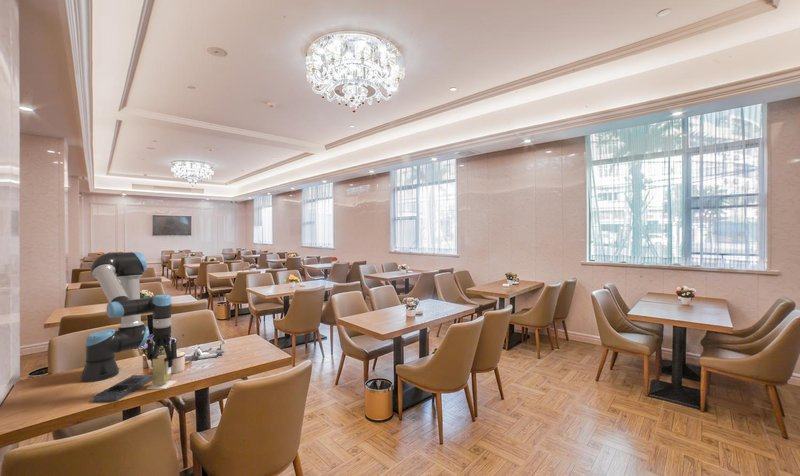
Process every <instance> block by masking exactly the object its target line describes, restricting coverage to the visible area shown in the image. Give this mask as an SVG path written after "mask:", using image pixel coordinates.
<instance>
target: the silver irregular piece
mask: <svg viewBox="0 0 800 476" xmlns="http://www.w3.org/2000/svg"><path fill="white" fill-rule="evenodd" d="M226 343H227V341H226V338H224V339H223V338H221V339H220V341H219V343H218V346H219V347H218V348H217V349H216V350H213V348H212V347H210V348H209V349H208V350H207V349H206V350H202V348H201V347H200V346H198V344H195V347H194V352H193V355H194V356H193V357H192V360H193V362H195V361H196V362H197V361H198V360H201V359H207V358H209V359H210V358H214V357H216V358H217V357H218V356H222V357H223V354H225V349H224V348H222V345H224V344H226ZM218 358H219V357H218Z"/></svg>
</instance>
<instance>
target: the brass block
mask: <svg viewBox="0 0 800 476" xmlns="http://www.w3.org/2000/svg"><path fill="white" fill-rule="evenodd" d="M166 361H167V356H166V354H163V355H162V354H161V355H157V357H156V358H154V359H153V363H152V367H151V368H152V374H151V375H152V381H151V382H152V383H151V384H152V385H153V384H164V383H166V382H167V381H172V380H171V379H172V374H171V373H169V374H168V375H166Z"/></svg>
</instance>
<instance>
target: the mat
mask: <svg viewBox="0 0 800 476" xmlns="http://www.w3.org/2000/svg"><path fill="white" fill-rule="evenodd" d="M175 383H177V380H169V381H167V382H166V383H164V384H152V385H150V386H148V387H146V390H166V389H168V388H170V387H171V386H172V385H174V384H175ZM167 387H168V388H167Z"/></svg>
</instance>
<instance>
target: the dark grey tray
mask: <svg viewBox="0 0 800 476" xmlns="http://www.w3.org/2000/svg"><path fill="white" fill-rule="evenodd" d="M150 382H152V374H139V375H138V374H137V375H135V374H133V375H131V376H129V377H128V378H125V379H123V380H121V381H120V382H118V383H116V384H114V385H112V386H110V387H108V388H106V389H105V390H102V391H101V392H99V393H97V394H95V395H93V397H92V398H93V402H94V403H105V402H106V403H108V402H109V403H110V402H112V403H113V402H118V401H120V400H121V399H123V398H126V397H127V396H128V395H130V394H132V393H133V392H135V391H137V390H138V389H140V388H142V387H143V386H145V385H147V384H148V383H150Z"/></svg>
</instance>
